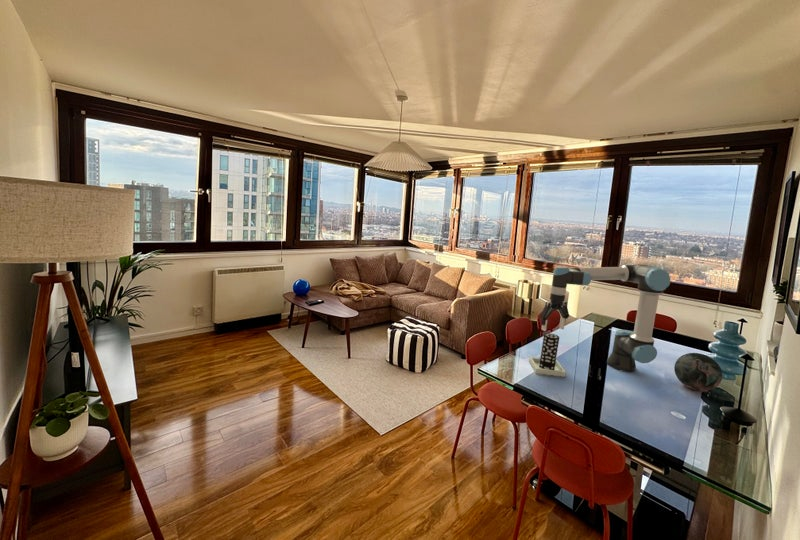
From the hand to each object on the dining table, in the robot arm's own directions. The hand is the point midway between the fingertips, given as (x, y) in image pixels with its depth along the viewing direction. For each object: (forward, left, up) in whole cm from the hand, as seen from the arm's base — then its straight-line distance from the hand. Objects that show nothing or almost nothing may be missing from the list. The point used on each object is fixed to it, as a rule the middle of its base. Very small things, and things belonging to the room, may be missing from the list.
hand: (552, 329), depth 199 cm
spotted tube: (0, 0, -24) cm, 24 cm away
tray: (0, 0, -24) cm, 24 cm away
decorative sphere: (-78, +3, -25) cm, 82 cm away
